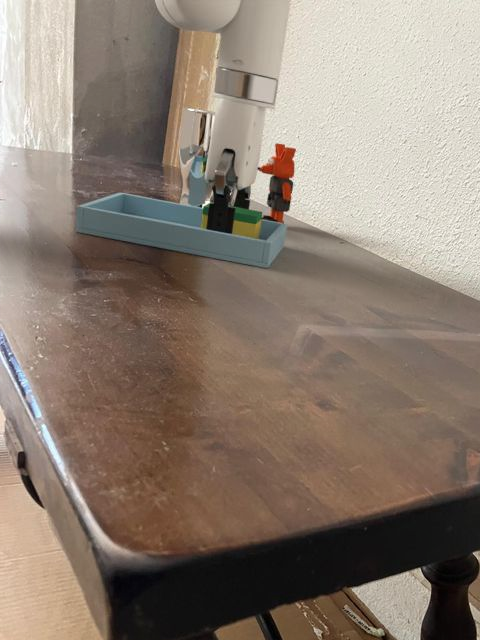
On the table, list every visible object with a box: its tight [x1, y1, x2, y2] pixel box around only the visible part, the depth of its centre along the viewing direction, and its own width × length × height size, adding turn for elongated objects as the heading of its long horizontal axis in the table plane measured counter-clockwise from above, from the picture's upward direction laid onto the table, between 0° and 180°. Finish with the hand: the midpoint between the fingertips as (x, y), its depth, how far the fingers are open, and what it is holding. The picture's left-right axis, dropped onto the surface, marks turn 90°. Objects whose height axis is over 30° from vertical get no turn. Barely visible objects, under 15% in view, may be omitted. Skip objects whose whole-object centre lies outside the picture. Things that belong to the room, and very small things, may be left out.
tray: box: [75, 191, 288, 269], centre depth 96 cm, size 24×16×3 cm, turn 85°
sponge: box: [201, 204, 263, 239], centre depth 98 cm, size 7×4×4 cm, turn 85°
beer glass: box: [178, 107, 216, 208], centre depth 109 cm, size 7×7×15 cm
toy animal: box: [257, 142, 297, 224], centre depth 115 cm, size 8×6×12 cm
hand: (226, 232), depth 97 cm, fingers open, 9 cm apart
